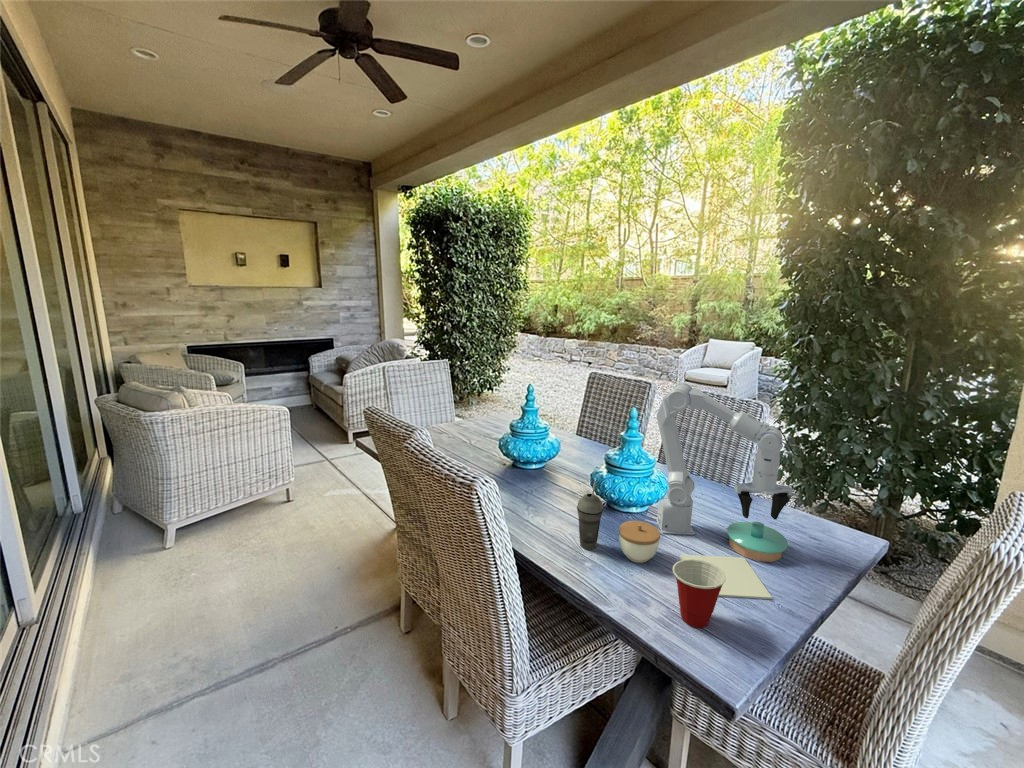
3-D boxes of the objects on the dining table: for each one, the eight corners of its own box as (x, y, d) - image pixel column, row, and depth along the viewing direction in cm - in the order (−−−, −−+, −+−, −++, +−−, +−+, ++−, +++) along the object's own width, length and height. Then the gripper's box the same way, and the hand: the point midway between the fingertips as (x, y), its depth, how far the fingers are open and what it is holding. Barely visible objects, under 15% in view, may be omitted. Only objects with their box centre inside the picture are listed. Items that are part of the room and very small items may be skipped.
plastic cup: (685, 595, 109) (690, 550, 107) (729, 621, 101) (735, 573, 98) (658, 615, 103) (662, 567, 100) (702, 644, 95) (708, 594, 92)
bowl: (740, 563, 124) (741, 550, 123) (722, 536, 136) (723, 525, 136) (790, 565, 123) (792, 552, 122) (767, 539, 135) (769, 527, 135)
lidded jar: (651, 573, 118) (654, 540, 116) (611, 559, 123) (613, 528, 121) (662, 552, 127) (665, 521, 125) (624, 541, 132) (626, 511, 130)
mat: (698, 595, 110) (698, 593, 109) (679, 556, 125) (679, 554, 125) (771, 599, 108) (772, 597, 108) (743, 559, 124) (743, 557, 124)
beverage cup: (585, 535, 135) (588, 472, 130) (606, 545, 130) (610, 480, 125) (569, 545, 130) (572, 479, 125) (591, 556, 125) (594, 488, 120)
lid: (739, 552, 122) (741, 537, 121) (719, 523, 137) (720, 510, 136) (798, 555, 121) (800, 540, 120) (771, 525, 135) (773, 512, 134)
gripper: (744, 476, 121) (738, 523, 124) (801, 478, 120) (794, 525, 123) (733, 466, 128) (728, 510, 131) (787, 467, 127) (781, 512, 130)
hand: (759, 517), depth 127 cm, fingers open, 7 cm apart
